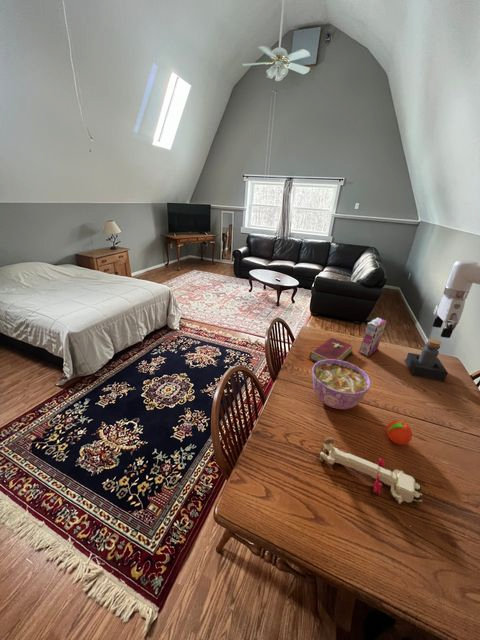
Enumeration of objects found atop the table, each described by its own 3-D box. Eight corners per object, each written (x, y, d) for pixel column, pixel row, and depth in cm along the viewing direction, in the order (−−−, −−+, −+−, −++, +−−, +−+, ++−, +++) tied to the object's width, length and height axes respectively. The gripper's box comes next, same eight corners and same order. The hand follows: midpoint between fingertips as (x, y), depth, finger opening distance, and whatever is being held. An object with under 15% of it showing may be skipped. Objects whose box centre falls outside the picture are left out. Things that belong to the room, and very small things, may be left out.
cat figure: (316, 470, 75) (421, 519, 63) (318, 448, 72) (430, 494, 60) (325, 445, 83) (421, 484, 71) (328, 424, 80) (429, 460, 67)
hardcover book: (309, 358, 125) (310, 351, 123) (329, 343, 139) (330, 336, 137) (333, 369, 118) (335, 361, 116) (352, 352, 132) (354, 344, 130)
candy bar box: (368, 357, 128) (377, 326, 121) (358, 352, 132) (366, 322, 125) (378, 349, 135) (387, 320, 128) (368, 345, 139) (376, 316, 132)
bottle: (432, 374, 118) (445, 345, 111) (418, 372, 118) (430, 343, 112) (427, 366, 123) (438, 338, 116) (413, 365, 124) (424, 336, 117)
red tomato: (390, 451, 81) (397, 434, 78) (376, 433, 87) (382, 416, 84) (413, 448, 82) (421, 431, 79) (397, 430, 88) (403, 413, 85)
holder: (434, 365, 124) (437, 357, 122) (444, 381, 113) (448, 372, 112) (405, 360, 127) (408, 352, 125) (412, 375, 116) (415, 366, 115)
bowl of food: (322, 423, 89) (329, 397, 85) (298, 385, 107) (302, 361, 102) (374, 416, 94) (384, 390, 89) (343, 380, 111) (349, 357, 106)
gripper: (477, 301, 96) (459, 343, 103) (457, 287, 111) (443, 324, 118) (453, 299, 98) (437, 340, 105) (436, 285, 113) (424, 322, 120)
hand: (440, 331), depth 112 cm, fingers open, 9 cm apart
